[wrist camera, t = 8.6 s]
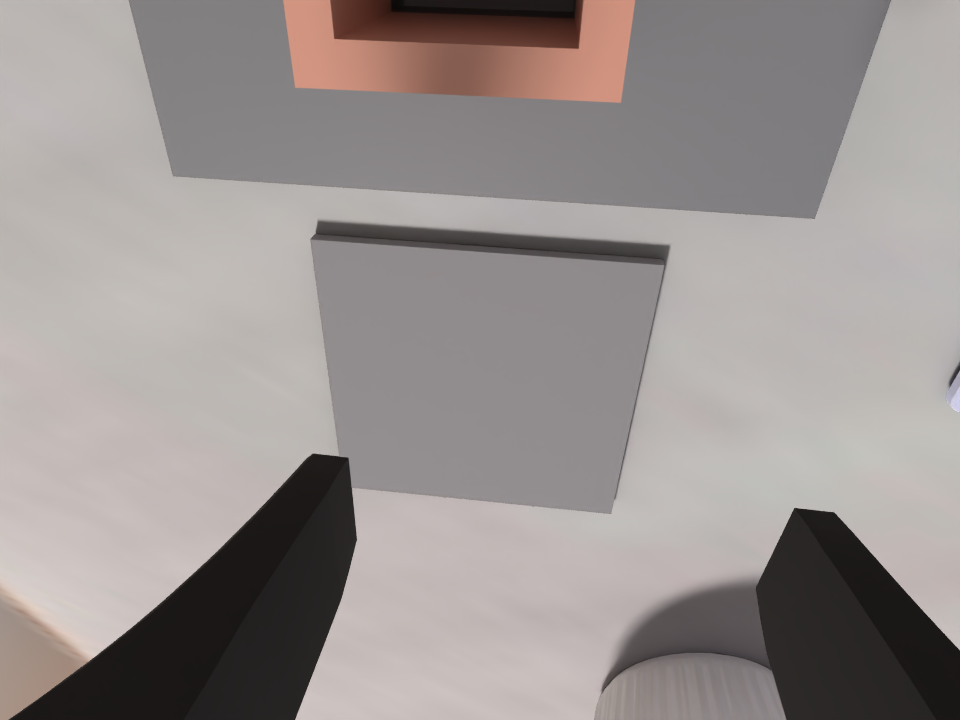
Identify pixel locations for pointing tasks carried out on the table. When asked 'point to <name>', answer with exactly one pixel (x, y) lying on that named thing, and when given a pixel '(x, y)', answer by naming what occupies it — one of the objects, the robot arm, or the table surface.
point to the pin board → (531, 109)
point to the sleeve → (461, 49)
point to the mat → (484, 367)
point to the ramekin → (692, 690)
